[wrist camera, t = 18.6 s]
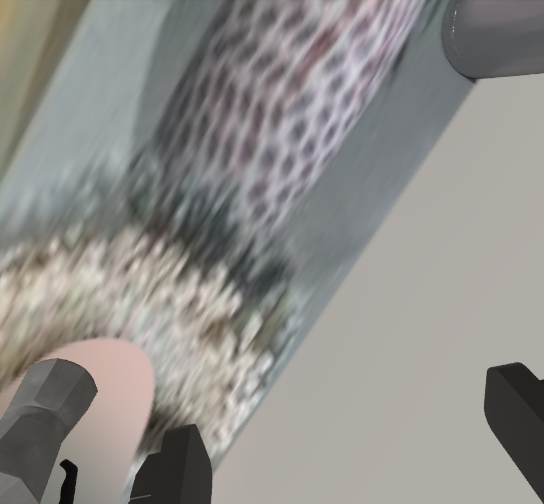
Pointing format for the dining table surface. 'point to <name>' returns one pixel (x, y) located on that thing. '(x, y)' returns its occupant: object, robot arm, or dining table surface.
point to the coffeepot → (42, 429)
